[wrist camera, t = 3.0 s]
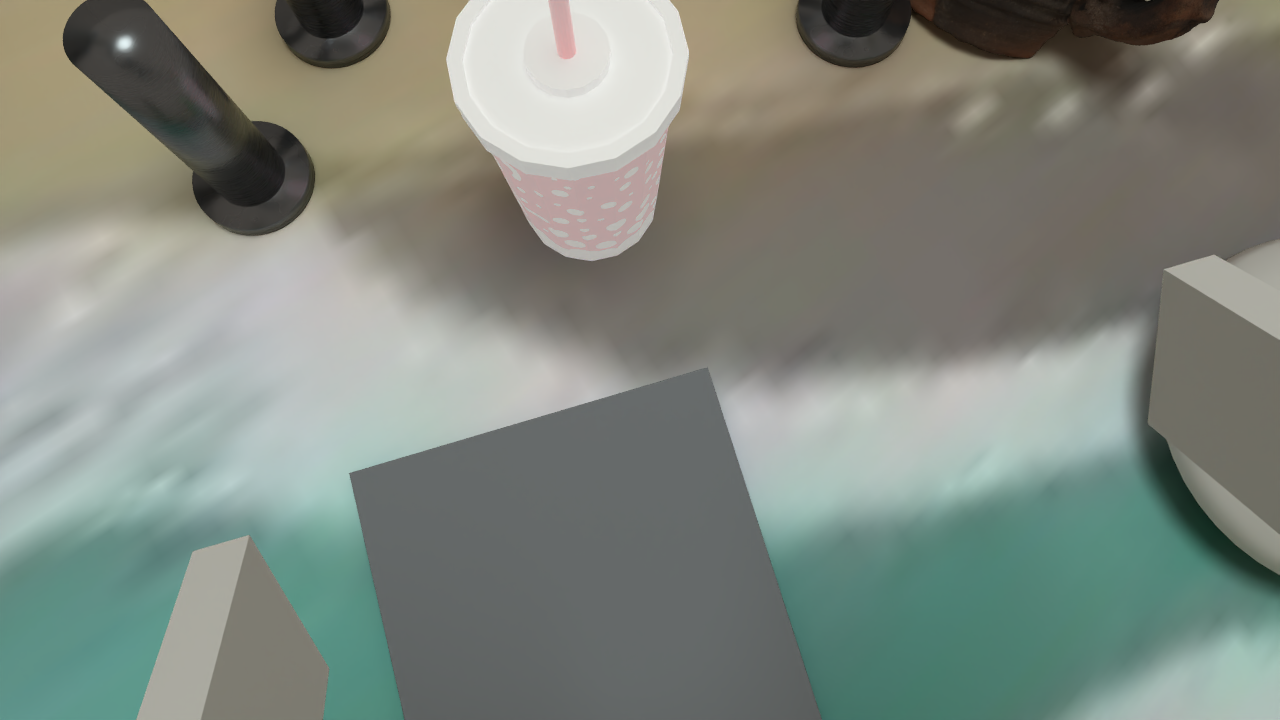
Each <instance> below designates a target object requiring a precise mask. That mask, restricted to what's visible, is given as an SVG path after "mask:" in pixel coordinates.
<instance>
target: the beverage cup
mask: <svg viewBox="0 0 1280 720" xmlns="http://www.w3.org/2000/svg"><path fill="white" fill-rule="evenodd" d="M688 59H689V50H688V47H687V43H686V39H685V35H684V31H683V28H682V24H681V20H680V16H679V12H678V10H677V9H676V8H675V7H674V6H673V4H672V3H671V2H670V1H669V0H470V1H469V2H468V3H467V5H466V6H465V7H464V9H463V10H462V11H461V13H460V14H459V15H458V17H457V18H456V22H455V26H454V30H453V34H452V38H451V42H450V46H449V50H448V54H447V58H446V61H447V66H448V71H449V76H450V81H451V86H452V91H453V96H454V101H455V104H456V106H457V108H458V109H459V111H460V112H461V114H462V117H463V118H464V120H465V121H466V123H467V124H468V125H469V127H470V128H471V129H472V131H473V132H474V134H475V135H476V136H477V138H478V139H479V141H480V142H481V143H482V145H483V146H484V147H485V149H486V150H487V151H488V152H490V153H492V154H493V156H494V158H495V160H496V161H497V163H498V165H499V167H500V169H501V171H502V173H503V175H504V176H505V178H506V180H507V182H508V184H509V186H510V188H511V190H512V192H513V193H514V195H515V197H516V199H517V201H518V203H519V205H520V207H521V208H522V210H523V212H524V214H525V216H526V218H527V220H528V222H529V224H530V225H531V226H532V228H533V229H534V231H535V232H536V233H537V235H538V236H539V237H540V239H541V240H542V242H543V243H544V244H545V245H547V246H549V247H550V248H552V249H554V250H555V251H557V252H559V253H560V254H562V255H564V256H565V257H570V258H576V259H582V260H588V261H594V260H599V259H603V258H608V257H613V256H617V255H619V254H620V253H622V252H623V251H625V250H626V249H628V248H629V247H631V246H632V245H634V244H635V243H637V242H638V241H639V240H640V238H641V237H642V235H643V234H644V232H645V231H646V229H647V228H648V227H649V225H650V224H651V222H652V221H653V216H654V210H655V205H656V199H657V193H658V187H659V181H660V175H661V168H662V162H663V156H664V150H665V144H666V137H667V131H668V126H669V125H670V123H671V122H672V120H673V119H674V117H675V116H676V114H677V113H678V111H679V109H680V104H681V98H682V93H683V87H684V82H685V76H686V70H687V64H688Z"/></svg>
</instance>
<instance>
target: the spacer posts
mask: <svg viewBox="0 0 1280 720" xmlns="http://www.w3.org/2000/svg"><path fill="white" fill-rule="evenodd" d="M910 19H911V3H910V0H799V2H798V6H797V12H796V20H797V26H798V30H799V33H800V35H801V37H802V39H803V40H804V42H805V43H806V45H807V46H808V47H809V48H810V49H811V50H812V51H813V52H814V53H815V54H816V55H818V56H819V57H821V58H822V59H824V60H826V61H828V62H831V63H833V64H836V65H840V66H846V67H862V66H868V65H871V64H874V63H877V62H879V61H881V60H883V59H885V58H886V57H888V56H889V55H890V54H891V53H893V52H894V51H895V49H896V48H897V47H898V46H899V44H900V43H901V41H902V39H903V37H904V35H905V33H906V30H907V28H908V26H909V23H910ZM275 21H276V25H277V28H278V31H279V33H280V35H281V36H282V38H283V39H284V41H285V42H286V44H287V45H288V47H289V48H290V50H291V51H292V52H293V53H294V54H295V55H296V56H298V57H299V58H300V59H302V60H303V61H305V62H307V63H309V64H312V65H315V66H319V67H325V68H337V67H344V66H348V65H351V64H354V63H356V62H359V61H361V60H362V59H364V58H366V57H367V56H369V55H370V54H371V53H372V52H374V51H375V50H376V48H377V47H378V46H379V45H380V44H381V42H382V41H383V39H384V38H385V36H386V33H387V31H388V28H389V24H390V7H389V3H388V0H277V2H276V7H275ZM63 46H64V50H65V53H66V55H67V57H68V58H69V60H70V61H71V62H72V63H73V64H74V65H75V66H76V67H77V68H78V69H79V70H80V71H82V72H83V73H84V74H85V75H86V76H87V77H88V78H89V79H91V80H92V81H93V82H94V83H95V84H96V85H97V86H98V87H100V88H101V89H102V90H103V91H104V92H105V93H106V94H107V95H109V96H110V97H111V98H112V99H113V100H114V101H115V102H116V103H118V104H119V105H120V106H121V107H122V108H123V109H124V110H125V111H127V112H128V113H129V114H130V115H131V116H132V117H133V118H134V119H136V120H137V121H138V122H139V123H140V124H141V125H142V126H143V127H145V128H146V129H147V130H148V131H149V132H150V133H151V134H152V135H154V136H155V137H156V138H157V139H158V140H159V141H160V142H161V143H163V144H164V145H165V146H166V147H167V148H168V149H169V150H170V151H172V152H173V153H174V154H175V155H176V156H177V157H178V158H179V159H181V160H182V161H183V162H184V163H185V164H186V165H187V166H188V167H190V168H191V169H192V170H193V176H192V184H193V191H194V195H195V198H196V200H197V202H198V204H199V206H200V207H201V209H202V210H203V211H204V212H205V213H206V214H207V215H208V216H209V217H210V218H211V219H213V220H214V221H215V222H216V223H217V224H219V225H220V226H222V227H223V228H225V229H227V230H229V231H231V232H234V233H238V234H243V235H262V234H267V233H270V232H273V231H276V230H278V229H280V228H282V227H284V226H286V225H287V224H289V223H290V222H292V221H293V220H294V219H295V218H296V217H297V216H298V215H299V214H300V213H301V212H302V211H303V209H304V208H305V207H306V205H307V203H308V201H309V199H310V197H311V195H312V192H313V188H314V181H315V172H314V166H313V163H312V160H311V158H310V156H309V154H308V152H307V151H306V149H305V148H304V147H303V145H302V144H301V143H300V142H299V140H298V139H297V138H296V137H295V136H294V135H293V134H292V133H290V132H289V131H288V130H286V129H284V128H283V127H281V126H278V125H276V124H272V123H269V122H262V121H252V122H251V121H250V120H249V119H248V118H247V116H246V115H245V114H244V113H243V112H242V111H241V110H240V108H239V107H238V106H237V105H236V104H235V103H234V102H233V100H232V99H231V98H230V97H229V96H228V95H227V94H226V92H225V91H224V90H223V89H222V88H221V87H220V86H219V85H218V83H217V82H216V81H215V80H214V79H213V78H212V77H211V75H210V74H209V73H208V72H207V71H206V70H205V69H204V67H203V66H202V65H201V64H200V63H199V62H198V61H197V59H196V58H195V57H194V56H193V55H192V54H191V53H190V51H189V50H188V49H187V48H186V47H185V46H184V45H183V44H182V42H181V41H180V40H179V39H178V38H177V37H176V36H175V34H174V33H173V32H172V31H171V30H170V29H169V28H168V26H167V25H166V24H165V23H164V22H163V21H162V20H161V18H160V17H159V16H158V15H157V14H156V13H155V12H154V10H153V9H152V8H151V7H150V6H149V5H148V4H147V3H146V2H145V1H144V0H87V1H85V2H84V3H82V4H81V5H80V6H79V7H78V8H77V9H76V10H75V11H74V12H73V13H72V14H71V16H70V17H69V19H68V21H67V23H66V26H65V28H64V33H63Z"/></svg>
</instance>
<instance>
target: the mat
mask: <svg viewBox="0 0 1280 720" xmlns="http://www.w3.org/2000/svg"><path fill="white" fill-rule="evenodd" d="M349 474H350V478H351V483H352V487H353V492H354V496H355V500H356V505H357V509H358V514H359V518H360V523H361V527H362V532H363V536H364V541H365V545H366V550H367V554H368V558H369V563H370V567H371V572H372V576H373V581H374V585H375V590H376V594H377V599H378V603H379V608H380V612H381V616H382V621H383V625H384V630H385V634H386V639H387V643H388V648H389V652H390V657H391V661H392V666H393V670H394V674H395V679H396V683H397V688H398V692H399V697H400V701H401V706H402V710H403V715H404V719H405V720H822V718H821V715H820V712H819V709H818V706H817V703H816V700H815V697H814V694H813V691H812V688H811V685H810V681H809V678H808V675H807V672H806V669H805V666H804V663H803V660H802V657H801V654H800V651H799V648H798V644H797V641H796V638H795V635H794V632H793V629H792V626H791V623H790V620H789V617H788V614H787V611H786V608H785V604H784V601H783V598H782V595H781V592H780V589H779V586H778V583H777V580H776V577H775V574H774V571H773V567H772V564H771V561H770V558H769V555H768V552H767V549H766V546H765V543H764V540H763V537H762V534H761V531H760V527H759V524H758V521H757V518H756V515H755V512H754V509H753V506H752V503H751V500H750V497H749V494H748V491H747V487H746V484H745V481H744V478H743V475H742V472H741V469H740V466H739V463H738V460H737V457H736V454H735V450H734V447H733V444H732V441H731V438H730V435H729V432H728V429H727V426H726V423H725V420H724V417H723V414H722V410H721V407H720V404H719V401H718V398H717V395H716V392H715V389H714V386H713V383H712V380H711V377H710V373H709V370H708V367H707V368H704V369H700V370H697V371H694V372H690V373H687V374H684V375H680V376H677V377H673V378H670V379H667V380H663V381H660V382H656V383H653V384H650V385H646V386H643V387H640V388H636V389H633V390H629V391H626V392H623V393H619V394H616V395H612V396H609V397H606V398H602V399H599V400H596V401H592V402H589V403H585V404H582V405H579V406H575V407H572V408H568V409H565V410H562V411H558V412H555V413H552V414H548V415H545V416H541V417H538V418H535V419H531V420H528V421H524V422H521V423H518V424H514V425H511V426H508V427H504V428H501V429H497V430H494V431H491V432H487V433H484V434H480V435H477V436H474V437H470V438H467V439H464V440H460V441H457V442H453V443H450V444H447V445H443V446H440V447H436V448H433V449H430V450H426V451H423V452H420V453H416V454H413V455H409V456H406V457H403V458H399V459H396V460H392V461H389V462H386V463H382V464H379V465H376V466H372V467H369V468H365V469H362V470H359V471H355V472H352V473H349Z"/></svg>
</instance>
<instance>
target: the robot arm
mask: <svg viewBox="0 0 1280 720" xmlns="http://www.w3.org/2000/svg"><path fill="white" fill-rule="evenodd" d="M1148 424H1149V425H1150V426H1151V427H1152V428H1154V429H1155V430H1156V431H1157V432H1158V433H1159V434H1161V435H1162V436H1163V437H1164V438H1165V439H1167V440H1168V441H1169V442H1170V443H1171V444H1173V445H1174V446H1175V447H1176V448H1177V449H1178V450H1180V451H1181V452H1182V453H1183V454H1184V455H1186V456H1187V457H1188V458H1189V459H1190V460H1192V461H1193V462H1194V463H1195V464H1196V465H1197V466H1199V467H1200V468H1201V469H1202V470H1203V471H1205V472H1206V473H1207V474H1208V475H1209V476H1211V477H1212V478H1213V479H1214V480H1215V481H1216V482H1218V483H1219V484H1220V485H1221V486H1222V487H1224V488H1225V489H1226V490H1227V491H1228V492H1230V493H1231V494H1232V495H1233V496H1234V497H1235V498H1237V499H1238V500H1239V501H1240V502H1241V503H1243V504H1244V505H1245V506H1246V507H1247V508H1249V509H1250V510H1251V511H1252V512H1253V513H1254V514H1256V515H1257V516H1258V517H1259V518H1260V519H1262V520H1263V521H1264V522H1265V523H1266V524H1268V525H1269V526H1270V527H1271V528H1272V529H1273V530H1275V531H1276V532H1277V533H1278V534H1279V535H1280V291H1279V290H1277V289H1275V288H1274V287H1272V286H1270V285H1268V284H1266V283H1265V282H1263V281H1261V280H1259V279H1257V278H1255V277H1254V276H1252V275H1250V274H1248V273H1246V272H1245V271H1243V270H1241V269H1239V268H1237V267H1236V266H1234V265H1232V264H1230V263H1228V262H1227V261H1225V260H1223V259H1221V258H1219V257H1217V256H1216V255H1212V256H1208V257H1205V258H1201V259H1198V260H1194V261H1191V262H1188V263H1184V264H1181V265H1177V266H1174V267H1170V268H1167V269H1164V273H1163V282H1162V292H1161V301H1160V311H1159V320H1158V329H1157V339H1156V348H1155V358H1154V367H1153V376H1152V386H1151V395H1150V405H1149V414H1148ZM328 674H329V667H328V666H327V664H326V662H325V661H324V659H323V657H322V656H321V654H320V652H319V651H318V649H317V647H316V646H315V644H314V642H313V641H312V639H311V637H310V636H309V634H308V632H307V631H306V629H305V627H304V625H303V624H302V622H301V620H300V619H299V617H298V615H297V614H296V612H295V610H294V609H293V607H292V605H291V604H290V602H289V600H288V599H287V597H286V595H285V594H284V592H283V590H282V589H281V587H280V585H279V584H278V582H277V580H276V579H275V577H274V575H273V574H272V572H271V570H270V569H269V567H268V565H267V564H266V562H265V560H264V559H263V557H262V555H261V553H260V552H259V550H258V548H257V547H256V545H255V543H254V542H253V540H252V538H251V537H250V535H248V536H244V537H241V538H237V539H234V540H230V541H227V542H224V543H220V544H217V545H213V546H210V547H206V548H203V549H199V550H196V551H193V553H192V556H191V559H190V562H189V565H188V568H187V571H186V573H185V576H184V579H183V582H182V585H181V588H180V591H179V594H178V597H177V600H176V603H175V606H174V609H173V612H172V615H171V618H170V621H169V624H168V627H167V630H166V633H165V636H164V639H163V642H162V645H161V648H160V651H159V654H158V657H157V660H156V663H155V666H154V669H153V672H152V675H151V678H150V681H149V684H148V687H147V690H146V693H145V696H144V699H143V702H142V705H141V708H140V710H139V713H138V716H137V719H136V720H323V714H324V706H325V698H326V690H327V682H328Z"/></svg>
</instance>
